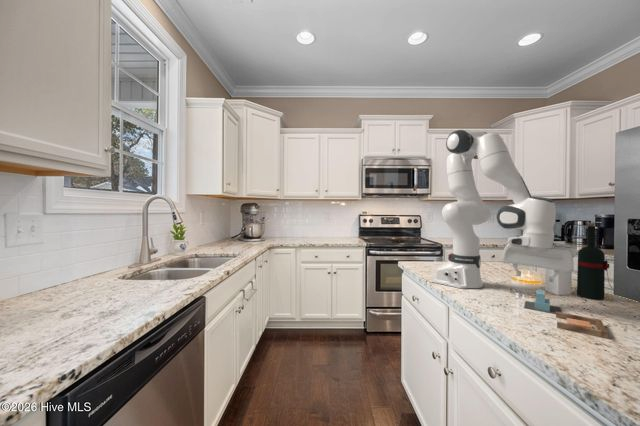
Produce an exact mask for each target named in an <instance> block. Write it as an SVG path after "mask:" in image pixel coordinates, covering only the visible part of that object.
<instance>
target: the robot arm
mask: <svg viewBox="0 0 640 426" xmlns="http://www.w3.org/2000/svg"><path fill="white" fill-rule="evenodd" d="M447 136H448V137H447V138H446V140H445V141H446V142H445V146H446V149H447V150H448V151H449V152H450V154H449V155H447V158H446V179H447V184H448V189H449V192H450V194H452V195H453V196H454V198H455V199H456V200H457V201H453V202H448V203H446V204H445V205H444V206H443V207H442V210H441V217H442V220H443V221H444V222H445V223H446V224H447V225H448V228H449V229H450V232H451V236H452V252H450V253H449V254H448V255H447V259H448V260H446V262H444V263H443V264H441V265H439V266H438V267H437V268H436V270H435V274H434V275H433V276H431V277H430V278H429V279H430V280H429V281H430V282H431V283H435V284H440V285H443V286H444V285H445V286H449V287H452V288H457V289H463V290H464V289H481V288H483V287H484V284H483V280H482V277H481V266H482V265H481V264H482V263H481V262H482V259H481V254H480V247H481V246H480V245H481V244H480V242H481V241H480V238H479V236H478V235H476V233H475V231H474V226H475V225H476V226H479V225H482V224H484V223H486V222H488V221H489V220H490V218H491V215H492V214H491V212H492V211H491V209H490V207H489V206H488V205H487V204H486V203H485V202H484V201H483V199H482V197H481V196H480V193H479V192H478V189H477V187H476V182H475V176H474V171H473V167H472V166H473V165H472V161H473V159H474V160H478V164H479V166H480V170H481V172H482V174H483V175H484V176H485V177H486V178H488V179H490V180H492V181H495V182H496V183H498V184H500V185H502V186H503V187H504V188H505V189H506V190H507V191H508V193H509V196H510V198H511V200H512V202H513V204H509V205H504V206H502V207H501V208H500V209H499V210H497V213H496V220H497V223H498V225H499V226H500V227H501V228H503V229H506V230H522V235H516V236H511V237H509V238H507V244H506V245H505V246H504V249H503V251H502V259H501V261H503V263H507V264H512V268H514V270H515V276H516V277H522V271H521V270H519V268H518V267H519V265H520V266H528V267H534V268H540V269H545V270H546V269H552V270H554V275H553V276H549V282H554V278H555V277H556V276H557V275H558V274H559V271H566V272H571V271H572V272H573V271H574V268H575V267H574V266H575V264H574V258H575V257H576V256H577V249H576V248H575V247H574V246H572V245H571V244H566V243H565V244H558V243H553V242H554V240H555V232H554V226H555V224H556V216H557V215H556V214H557V212H556V204H555V202H554V201H553V199H550V198H548V197H542V196H541V197H540V196H532V195H531V193H530V191H529V189H528V187H527V184H526V183H525V181H524V179H523V176H522V175H521V174H520V172H519V170H518V169H517V168H516V166H515V163H514V161H513V158H512V157H511V153H510V152H509V148H508V147H507V145H506V143H505V141H504V139H503V138H502V136H501V135H500V134H499V133H496V132H486V131H479V130H472V129H471V130H469V129H468V130H467V129H466V130H464V129H458V130H454V131H452V132H451V133H449V135H447Z"/></svg>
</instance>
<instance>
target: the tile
mask: <svg viewBox="0 0 640 426" xmlns="http://www.w3.org/2000/svg"><path fill="white" fill-rule="evenodd" d="M565 320H566V322H565V323H568V324H573V325H578V326H583V327H588V328H592V329H593V327H592V326H593V325H591V324H590V323H589V322H588V321H582V320H576V319H571V318H566V319H565Z"/></svg>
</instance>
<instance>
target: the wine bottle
mask: <svg viewBox="0 0 640 426" xmlns="http://www.w3.org/2000/svg"><path fill="white" fill-rule="evenodd" d="M595 224H596V223H594V222H593V223H591V222H588V226H587V239H586V240H587V242H586V243H587V245H586V246H584V247H581V248H580V249H579V250H578V252H577V271H576V272H577V274H576V275H577V278H576V279H577V280H576V281H577V283H576V296H577V297H580V298H582V299H587V300H594V301H603V300H605V274H606V275H607V276H609V272H608V270H609V269H610V264H609V263H608V260H607V259H606V256H605V255H606V254H605V253H604V251H603V250H602V249H601V248H599V247H597V246H596V226H595ZM605 259H606V260H605ZM605 272H606V273H605ZM607 280H608V285H609V286H610V288H611V289H612V290H614V289H613V286H612V285H611V284H610V281H609V280H610V279H609V278H607Z"/></svg>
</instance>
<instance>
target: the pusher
mask: <svg viewBox="0 0 640 426" xmlns="http://www.w3.org/2000/svg"><path fill="white" fill-rule="evenodd" d="M534 303H535V309H537V310H543V311H548V312H550V305H551V302H550V299H549V298H546V291H545V289H544V290H542V289H536V292H535V298H534Z"/></svg>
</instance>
